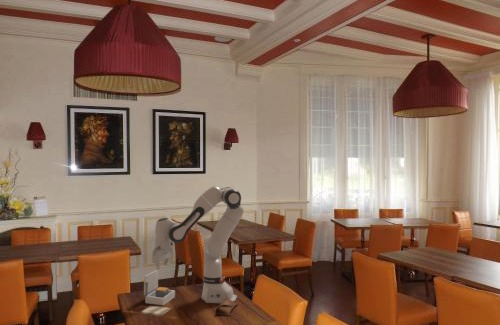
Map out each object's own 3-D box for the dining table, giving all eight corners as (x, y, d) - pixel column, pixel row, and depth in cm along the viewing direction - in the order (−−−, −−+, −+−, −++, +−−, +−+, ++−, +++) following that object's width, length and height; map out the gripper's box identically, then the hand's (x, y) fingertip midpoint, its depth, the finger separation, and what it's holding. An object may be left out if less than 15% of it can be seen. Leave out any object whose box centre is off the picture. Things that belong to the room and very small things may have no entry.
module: (168, 299, 241) (168, 287, 241) (164, 302, 236) (164, 290, 236) (159, 298, 243) (159, 286, 243) (155, 300, 238) (155, 289, 238)
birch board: (171, 309, 227) (171, 308, 227) (163, 316, 217) (163, 314, 217) (150, 307, 231) (150, 305, 231) (141, 313, 221) (141, 311, 221)
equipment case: (174, 298, 245) (175, 271, 245) (163, 307, 231) (163, 278, 231) (156, 296, 249) (156, 269, 249) (143, 304, 234) (144, 276, 234)
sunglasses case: (229, 315, 219) (224, 304, 219) (219, 320, 220) (214, 309, 221) (238, 303, 236) (233, 293, 237) (228, 308, 238) (223, 298, 238)
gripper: (158, 248, 228) (158, 272, 228) (174, 241, 248) (174, 263, 248) (149, 247, 230) (148, 271, 230) (165, 241, 250) (165, 262, 250)
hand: (162, 267), depth 239 cm, fingers open, 8 cm apart
